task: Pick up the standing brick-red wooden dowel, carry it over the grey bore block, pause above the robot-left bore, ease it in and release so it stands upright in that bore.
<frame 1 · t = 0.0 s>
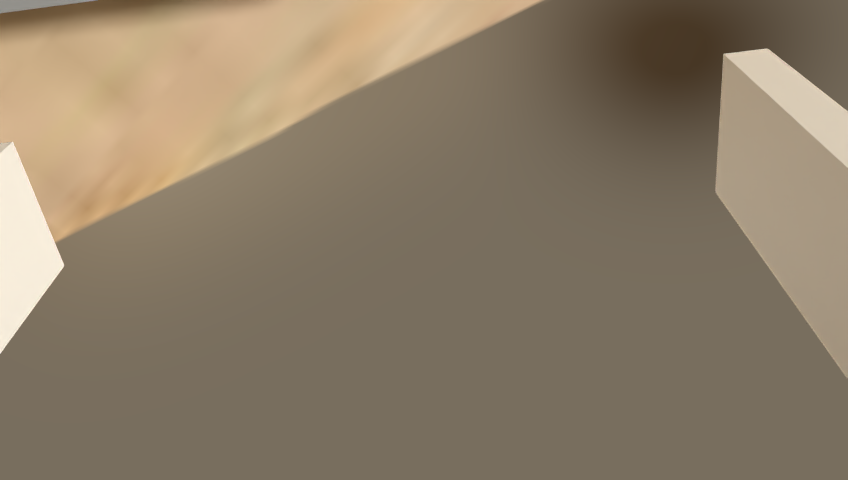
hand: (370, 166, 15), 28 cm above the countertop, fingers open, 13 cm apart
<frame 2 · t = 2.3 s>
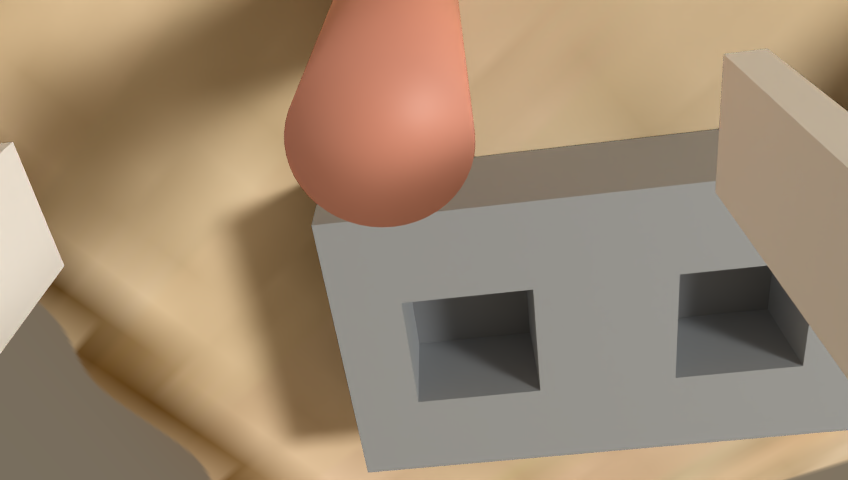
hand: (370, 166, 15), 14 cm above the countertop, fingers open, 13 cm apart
bore block: (588, 276, 33), on the countertop
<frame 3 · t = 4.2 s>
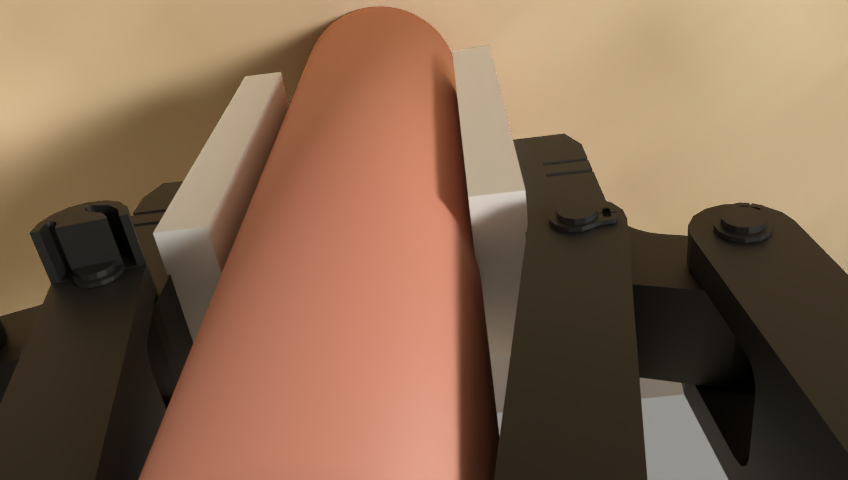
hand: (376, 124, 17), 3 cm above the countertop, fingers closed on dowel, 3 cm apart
dowel: (381, 83, 19), on the countertop, touching gripper
bore block: (633, 456, 25), on the countertop
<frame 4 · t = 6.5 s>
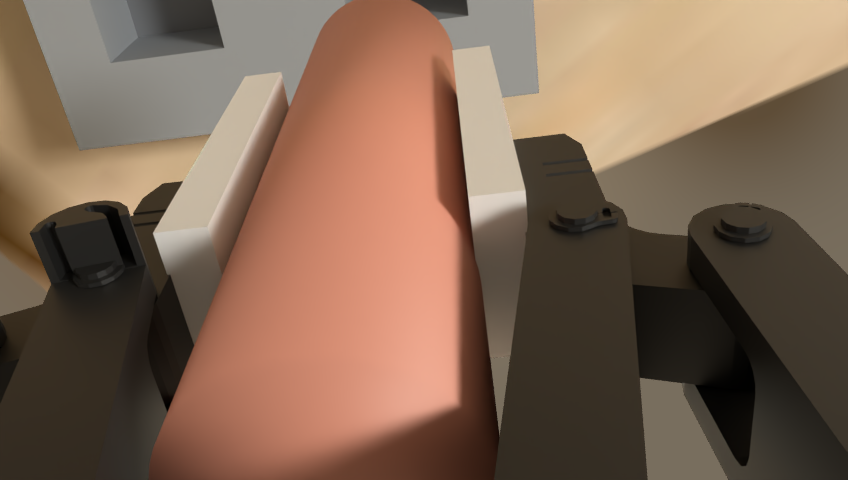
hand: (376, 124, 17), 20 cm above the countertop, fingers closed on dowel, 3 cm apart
dowel: (384, 66, 20), point 16 cm above the countertop, touching gripper
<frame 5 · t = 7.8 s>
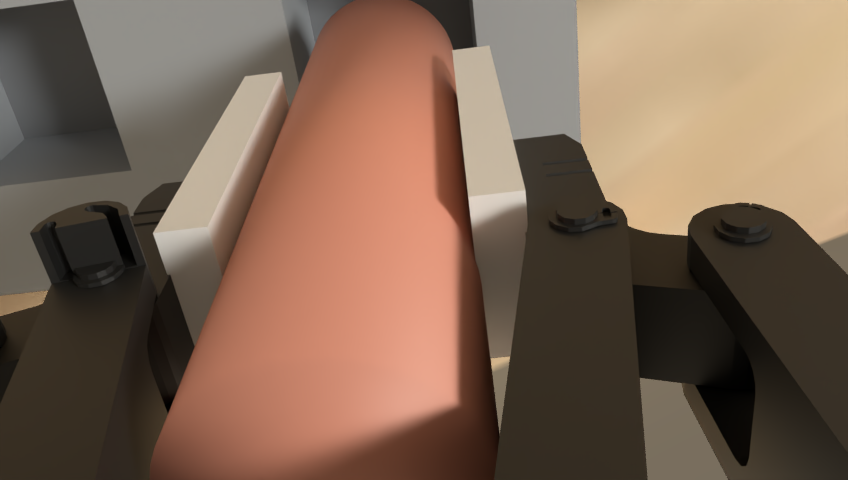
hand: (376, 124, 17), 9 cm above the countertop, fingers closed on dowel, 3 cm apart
dowel: (384, 67, 20), point 5 cm above the countertop, touching gripper
bore block: (230, 35, 25), on the countertop
when the fingers open (6 cm above the countertop, at t = 9.0 s): dowel stays where it is, resting on bore block.
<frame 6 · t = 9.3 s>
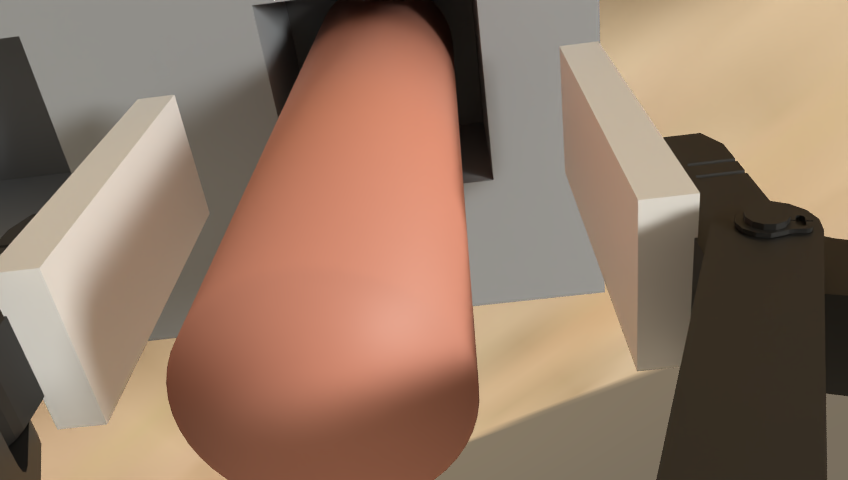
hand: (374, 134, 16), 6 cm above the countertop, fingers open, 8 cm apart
dowel: (385, 50, 21), resting on bore block
bore block: (206, 69, 22), on the countertop
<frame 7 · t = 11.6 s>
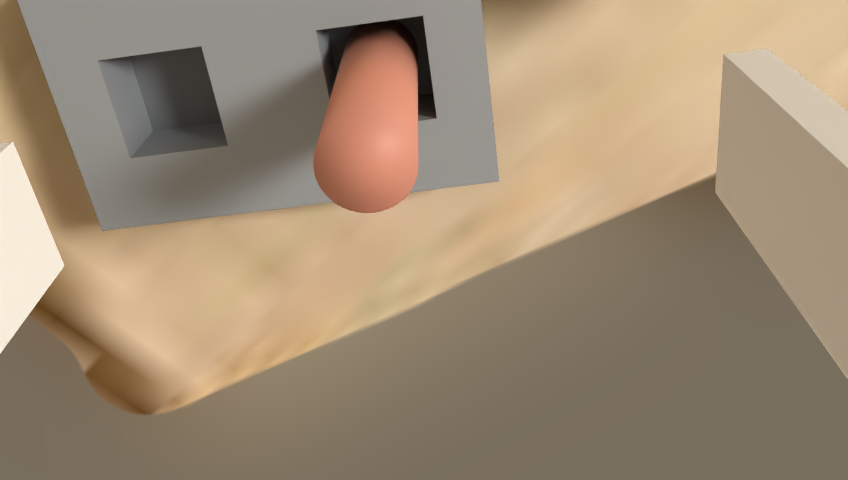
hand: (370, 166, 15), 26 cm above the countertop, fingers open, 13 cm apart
dowel: (381, 53, 40), resting on bore block
bore block: (283, 65, 40), on the countertop
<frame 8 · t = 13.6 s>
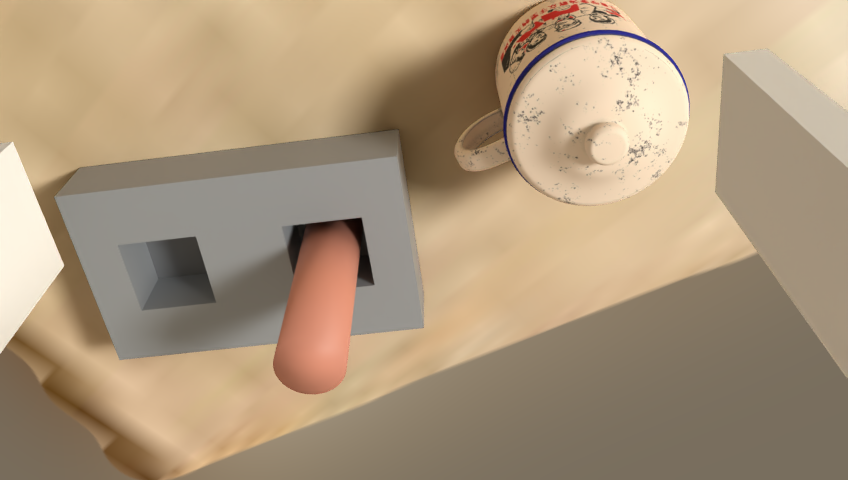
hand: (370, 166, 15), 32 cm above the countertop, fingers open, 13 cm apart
teacup with lid: (545, 77, 47), on the countertop
dowel: (334, 227, 52), resting on bore block
bore block: (259, 233, 52), on the countertop
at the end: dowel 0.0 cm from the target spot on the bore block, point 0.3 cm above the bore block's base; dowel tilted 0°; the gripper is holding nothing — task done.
